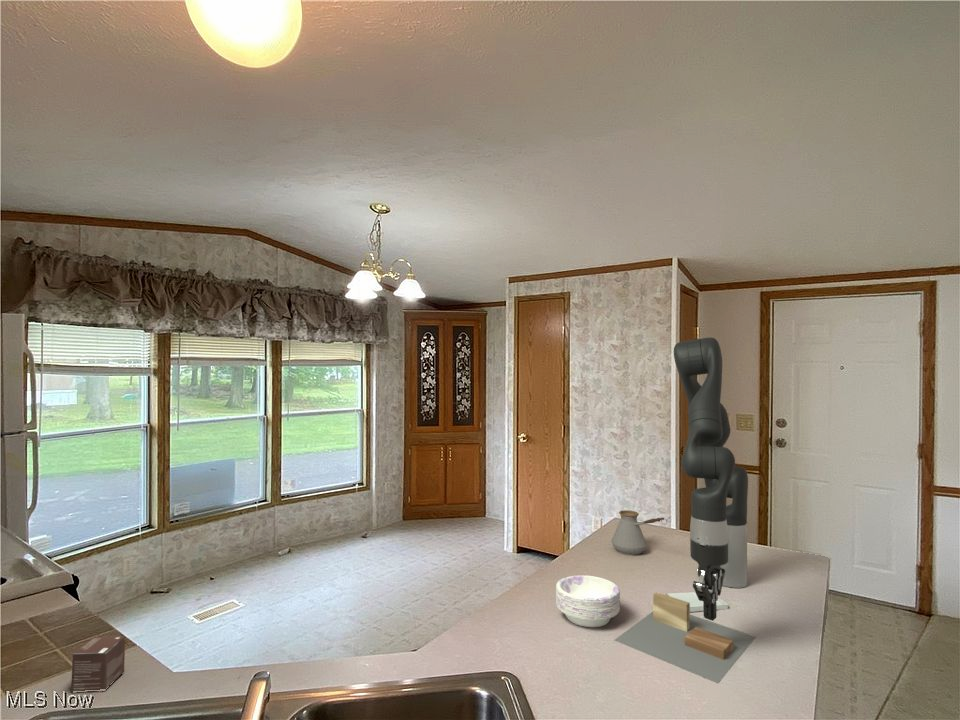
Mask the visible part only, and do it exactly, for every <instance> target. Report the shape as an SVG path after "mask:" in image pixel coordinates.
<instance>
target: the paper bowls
mask: <svg viewBox="0 0 960 720" xmlns="http://www.w3.org/2000/svg"><path fill="white" fill-rule="evenodd" d="M620 599H621V591H620V588H619V586H618V585H617V584H615V583H614V582H613V581H611V580H608V579H606V578H603V577H600V576H596V575H595V576H593V575H586V574H585V575H583V574H582V575H581V574H580V575H579V574H576V575H570V576H567V577H563V578H560V579H559V580H558V581H557V583H556V585H555V606H556V608H558V610H559V611H560V612H562V613H563V614H564V615H565V617H566V619H568V621H570V623H573V624H574V625H577V626H581V627H584V628H585V627H586V628H600V627H603V626H606V625H607V624H608V623H609V622H610V620H611V618H614V617H616V616H617V615H618V614H619V613H620V611H621V606H620V605H621V602H620V601H621V600H620Z"/></svg>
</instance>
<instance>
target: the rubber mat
mask: <svg viewBox="0 0 960 720" xmlns="http://www.w3.org/2000/svg"><path fill="white" fill-rule="evenodd" d="M695 627H697V628H700V629H703V630H706V631H708V632H711V633H714V634H717V635H720V636H723V637H726V638H728V639H731V640H733V650H732V651H731V652H730V653H729V654H728V655H727V656H726V658H725V659H724V660H722V659H720V658H717V657H715V656H712V655H709V654H707V653H704V652H701V651H699V650H696V649H694V648H691V647H688V646H686V645H685V636H686V635H687V634H688V633H689V632H690V631H692V630H693V629H694V628H695ZM756 638H757V636H755V635H752V634H749V633H746V632H744V631H740V630H737V629H734V628H732V627H728V626H725V625H722V624H719V623H716V622H714V621H713V622H712V620H709V619H706V618H701V617H698V616H695V615H693V614H690V629H689V630H688V631H687V632H686V631H683V630H681V629H678V628H675V627H672V626H670V625H667V624H664V623H661V622H659V621H656V620H653V611H651V612H650V613H648V614H647V615H646V616H645V617H643V618H642V619H640V620H639V621H637V622H636V623H635V624H633V626H631V627H629V628H628V629H627V630H626V631H624V632H623V633H621V635H619V636H617V637H616V638H615V639H614V641H615V642H618V643H620V644H622V645H624V646H627V647H629V648H632V649H634V650H637V651H639V652H642V653H644V654H646V655H648V656H651V657H654V658H656V659H658V660H660V661H663V662H666V663H667V664H671V665H673V666H675V667H678V668H679V669H682V670H685V671H687V672H689V673H692V674H693V675H697V676H699V677H702V678H703V679H707V680H709V681H711V682H714V683H716V684H719V683H720V682H721V681H722V680H723V678H724V677H725V676H726V675H727V673H728V672H729V671H730V670H731V668H732V667H733V666H734V665H735V663H736V662H737V661H738V660H739V659H740V657H741V656H742V655H743V654H744V653H745V651H746V650H747V649H748V648H749V646H750V645H752V643H753V642H754V640H755V639H756Z"/></svg>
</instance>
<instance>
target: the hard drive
mask: <svg viewBox="0 0 960 720" xmlns="http://www.w3.org/2000/svg"><path fill="white" fill-rule="evenodd" d="M665 595H667V596H670V597H674V598H677V599H680V600H683V601H686V602H689V603H690V613H695V612H704V609H703V601H700V600H699V599H698V597H697V595H696V592H694V591H693V592H691V591H689V592H672V593H671V592H670V593H665ZM728 609H729V605H728V603H727V602H725V601H724V600H722V599H721V598H719V597H718V600H717V601H716V611H719V610H728Z"/></svg>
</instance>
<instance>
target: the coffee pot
mask: <svg viewBox="0 0 960 720" xmlns="http://www.w3.org/2000/svg"><path fill="white" fill-rule="evenodd" d="M618 514H619V515H620V520H619V522H618V524H617V526H616V529H615V532H614V534H613V537H612V538H611V540H610V541H611V544H612V546H613V548H614V549H615V550H617V552H618V553H620V554H622V555H626V556H627V555H628V556H637V555H640V554H642V552H644V551H645V550H646V547H647V546H648V545H647V540H646V539H645V536H644V534H643V531H642V529H641V527H640V526H641V525H644V524H645V525H646V524H653V523H656V522H661V524H662V525H664V523H663V521H664V520H665V521H666V522H665V525H666V524H668V521H667V519H666V517H657V518H649V519H647V520H644V521H638V516H639V515H640V514H639V512H637V511H635V510H628V509H627V510H620V511H618Z"/></svg>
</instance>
